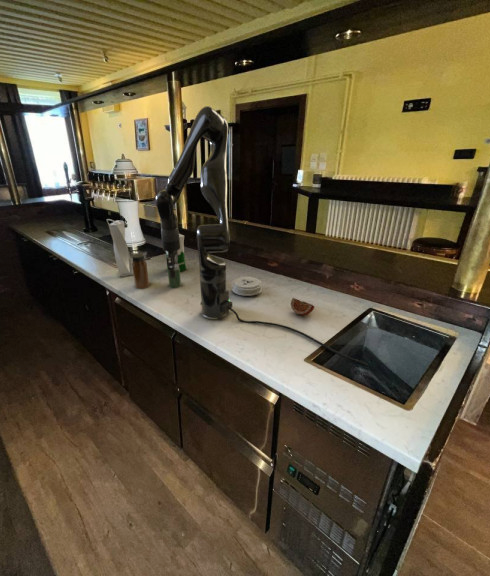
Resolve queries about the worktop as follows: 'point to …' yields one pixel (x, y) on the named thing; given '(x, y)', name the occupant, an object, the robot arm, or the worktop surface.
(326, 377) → the worktop surface
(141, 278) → the amber bottle
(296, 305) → the fruit slice
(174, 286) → the green bottle
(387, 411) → the worktop surface
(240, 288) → the lid
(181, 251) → the milk carton
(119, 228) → the white paper bag
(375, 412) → the worktop surface
